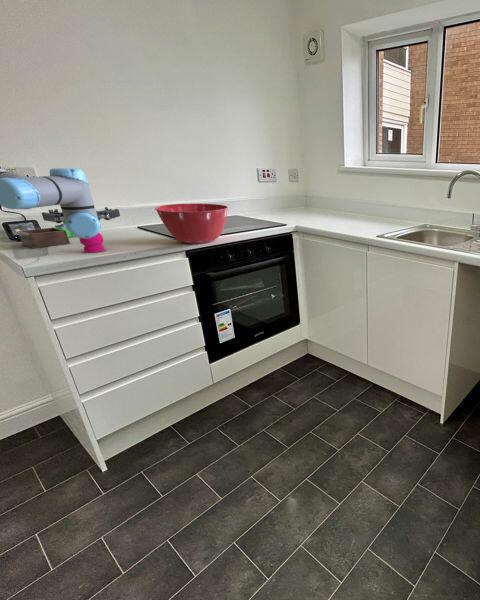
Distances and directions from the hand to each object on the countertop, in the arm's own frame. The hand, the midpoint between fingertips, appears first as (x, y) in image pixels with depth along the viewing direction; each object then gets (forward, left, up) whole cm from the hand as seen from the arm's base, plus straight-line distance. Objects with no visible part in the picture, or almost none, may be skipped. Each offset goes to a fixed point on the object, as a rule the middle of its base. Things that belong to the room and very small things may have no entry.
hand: (82, 211), depth 127 cm
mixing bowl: (+38, -4, -17) cm, 42 cm away
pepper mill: (+3, +9, -17) cm, 19 cm away
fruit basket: (+11, +49, -17) cm, 53 cm away
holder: (-3, +37, -16) cm, 41 cm away
